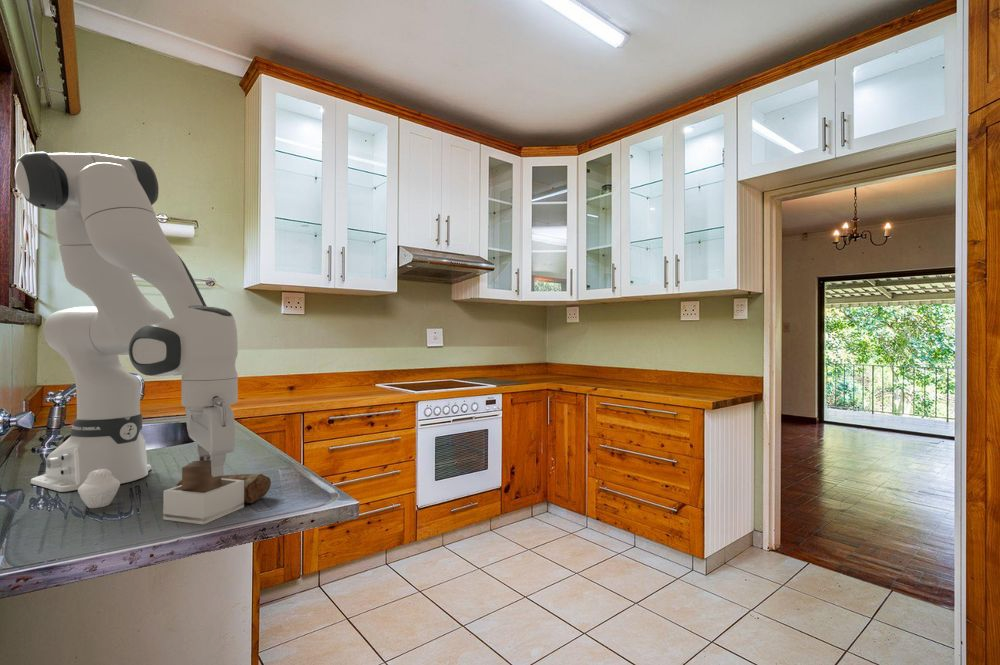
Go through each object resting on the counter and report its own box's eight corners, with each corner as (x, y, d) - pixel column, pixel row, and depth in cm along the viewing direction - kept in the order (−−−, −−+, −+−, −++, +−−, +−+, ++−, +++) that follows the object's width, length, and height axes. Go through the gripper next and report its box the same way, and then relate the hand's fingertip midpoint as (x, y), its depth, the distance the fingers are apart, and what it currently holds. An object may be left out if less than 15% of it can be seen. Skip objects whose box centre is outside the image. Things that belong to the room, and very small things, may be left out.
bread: (251, 508, 90) (251, 478, 90) (167, 501, 94) (167, 473, 94) (274, 497, 96) (274, 469, 96) (194, 491, 100) (194, 464, 100)
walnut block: (181, 513, 84) (182, 467, 84) (194, 504, 88) (194, 460, 89) (210, 511, 85) (210, 466, 85) (221, 503, 89) (221, 459, 89)
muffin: (73, 506, 90) (73, 469, 90) (113, 498, 95) (113, 462, 95) (83, 513, 87) (84, 474, 87) (124, 504, 92) (125, 467, 92)
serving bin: (163, 519, 84) (163, 490, 84) (206, 503, 92) (206, 476, 92) (203, 524, 81) (203, 494, 81) (244, 507, 90) (244, 480, 90)
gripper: (245, 398, 82) (245, 478, 82) (216, 388, 97) (216, 456, 97) (203, 401, 78) (203, 486, 78) (179, 391, 93) (179, 462, 93)
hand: (210, 469), depth 88 cm, fingers open, 8 cm apart
